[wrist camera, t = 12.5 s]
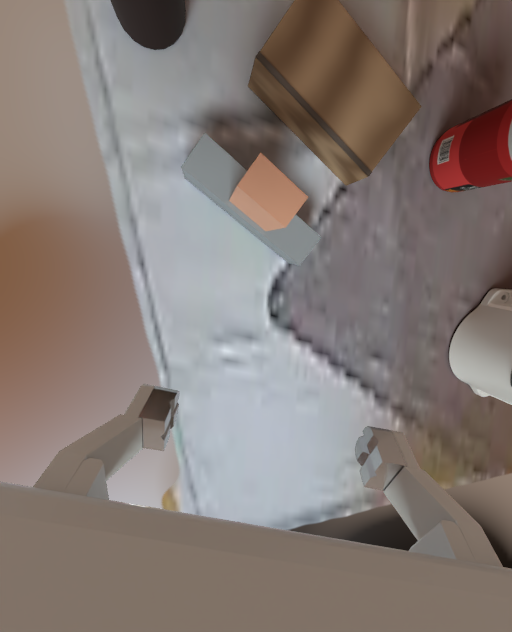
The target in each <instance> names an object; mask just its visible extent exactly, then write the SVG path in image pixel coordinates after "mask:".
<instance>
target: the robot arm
mask: <svg viewBox="0 0 512 632" xmlns="http://www.w3.org/2000/svg"><path fill="white" fill-rule="evenodd" d="M449 361H450V366H451V369H452V371H453V373H454V374H455V375H456V377H457V378H458V379H460V380H461V381H463V382H465V383H467V384H469V385H470V386H471V388H472V390H473V391H474V392H475V393H476V394H477V395H479V396H482V397H486V396H489V395H491V396H493V397H495V398H497V399H500V400H502V401H504V402H506V403H509V404H511V405H512V289H498V288H494V289H491V290H490V291H489V292H488V293H487V294H486V296H485V297H484V299H483V300H482V302H481V304H480V305H479V306H478V307H477V308H476V309H475V310H474V311H473V312H471V313H470V314H469V315H468V316H467V317H466V318H465V319H464V320H463V321H462V323H461V324H460V325H459V327H458V328H457V330H456V332H455V334H454V336H453V339H452V341H451V345H450V350H449ZM178 399H179V391H177V390H172V389H167V388H163V387H158V386H152V385H148V384H143V385H142V386H141V387H140V389H139V390H138V392H137V394H136V395H135V397H134V399H133V400H132V402H131V404H130V406H129V407H128V409H127V411H126V412H125V414H124V415H121V414H120V415H118V416H117V417H115V418H113V419H112V420H110V421H108V422H107V423H105V424H103V425H102V426H100V427H98V428H97V429H95V430H94V431H92V432H90V433H89V434H87V435H85V436H84V437H82V438H81V439H79V440H77V441H75V442H74V443H72V444H70V445H69V446H67V447H65V448H64V449H62V450H61V451H59V452H58V454H57V455H56V456H55V458H54V459H53V461H52V462H51V463H50V465H49V466H48V467H47V469H46V470H45V471H44V473H43V474H42V476H41V477H40V478H39V480H38V481H37V482H36V484H35V485H34V486H33V487H28V486H23V485H18V484H12V483H6V482H0V632H512V569H510V568H505V567H503V566H502V564H501V563H500V561H499V559H498V557H497V555H496V553H495V552H494V550H493V548H492V546H491V545H490V542H489V540H488V539H487V537H486V535H485V533H484V531H483V530H482V528H481V526H480V525H479V524H478V523H477V522H476V521H475V520H474V519H473V518H472V517H471V516H470V515H469V514H468V513H467V512H466V511H465V510H464V509H463V508H462V507H461V506H460V505H459V504H458V503H457V502H456V501H455V500H454V499H453V498H452V497H451V496H450V495H449V494H448V493H447V492H446V491H445V490H444V489H443V488H442V487H441V486H440V485H439V484H438V483H437V482H436V481H435V480H434V479H433V478H432V477H431V476H429V475H428V474H427V473H426V472H425V471H424V470H422V469H420V467H419V465H418V463H417V461H416V459H415V456H414V454H413V452H412V450H411V448H410V445H409V443H408V441H407V439H406V437H405V435H404V434H403V433H402V432H397V431H392V430H387V429H381V428H375V427H370V426H367V427H365V429H364V430H363V434H364V435H363V436H361V437H359V438H358V440H357V442H356V446H355V455H356V459H357V461H358V462H359V463H360V465H361V466H362V467H361V469H360V474H361V478H362V482H363V486H364V487H367V488H372V489H377V490H381V491H384V494H385V495H386V496H387V498H388V499H389V501H390V502H391V503H392V505H393V506H394V507H395V509H396V510H397V512H398V513H399V515H400V516H401V517H402V519H403V520H404V521H405V523H406V524H407V526H408V527H409V529H410V530H411V531H412V533H413V534H414V536H415V537H416V539H417V540H418V542H417V543H416V544H414V545H413V546H412V547H411V548H410V550H409V551H405V550H399V549H393V548H387V547H381V546H375V545H369V544H363V543H357V542H352V541H346V540H340V539H334V538H328V537H323V536H317V535H311V534H305V533H299V532H293V531H288V530H282V529H276V528H270V527H264V526H258V525H252V524H246V523H241V522H235V521H229V520H223V519H217V518H211V517H205V516H199V515H194V514H188V513H182V512H176V511H170V510H164V509H158V508H152V507H147V506H141V505H135V504H129V503H123V502H117V501H111V500H109V498H108V491H107V484H106V481H107V480H108V479H109V478H110V477H111V476H112V475H114V474H115V473H116V472H117V471H118V470H119V469H120V468H121V467H123V466H124V465H125V464H126V463H127V462H128V461H130V460H131V459H132V458H133V457H134V456H135V455H136V454H138V453H139V452H140V451H141V450H142V449H143V448H147V449H154V450H160V451H164V449H165V447H166V444H167V442H168V439H169V436H170V429H171V428H172V427H173V426H174V423H175V421H176V417H177V414H178V407H179V404H178V403H177V401H178Z"/></svg>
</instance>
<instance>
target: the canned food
mask: <svg viewBox="0 0 512 632" xmlns="http://www.w3.org/2000/svg"><path fill="white" fill-rule="evenodd" d="M429 167H430V174H431V177H432V179H433V181H434V183H435V184H436V185H437V186H438V187H439V188H440V189H442V190H444V191H449V192H460V191H465V190H470V189H475V188H481V187H486V186H491V185H496V184H501V183H506V182H511V181H512V99H511V100H509V101H507V102H505V103H503V104H501V105H499V106H497V107H495V108H492V109H490V110H488V111H486V112H484V113H482V114H480V115H478V116H476V117H473V118H471V119H469V120H467V121H465V122H463V123H461V124H459V125H457V126H454V127H453V128H451V129H449V130H448V131H446V132H445V133H444V134H443V135H442V136H441V137H440V138H439V139H438V140H437V142H436V143H435V145H434V147H433V149H432V152H431V156H430V163H429Z"/></svg>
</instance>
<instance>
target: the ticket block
mask: <svg viewBox="0 0 512 632" xmlns="http://www.w3.org/2000/svg"><path fill="white" fill-rule="evenodd" d="M248 87H249V88H250V89H251V90H252V91H253V92H254V93H255V94H256V95H257V96H258V97H259V98H260V99H261V100H262V101H263V102H264V103H265V104H266V105H267V106H268V107H269V108H270V109H271V110H272V111H273V112H274V113H275V114H276V115H277V116H278V117H279V118H280V119H281V120H282V121H283V122H284V123H285V124H286V125H287V126H288V127H289V128H290V129H291V131H292V132H293V133H294V134H295V135H296V136H297V137H298V138H299V139H300V140H301V141H302V142H303V143H304V144H305V145H306V146H307V147H308V148H309V149H310V150H311V151H312V152H313V153H314V154H315V155H316V156H317V157H318V158H319V159H320V160H321V161H322V162H323V163H324V164H325V165H326V166H327V167H328V168H329V169H330V170H331V171H332V172H333V173H334V174H335V175H336V176H337V177H338V178H339V179H340V180H341V181H342V182H343V183H344V184H345V185H349V184H351V183H354V182H356V181H359V180H361V179H364V178H366V177H368V176H369V175H370V174H371V173H372V170H373V169H374V168H375V167H376V165H377V164H378V163H379V161H380V160H381V159H382V157H383V156H384V155H385V153H386V152H387V151H388V150H389V148H390V147H391V146H392V144H393V143H394V142H395V140H396V139H397V138H398V137H399V135H400V134H401V133H402V131H403V130H404V129H405V127H406V126H407V125H408V123H409V122H410V121H411V120H412V118H413V117H414V116H415V114H416V113H417V112H418V110H419V109H420V108H421V105H420V104H419V103H418V102H417V100H416V99H415V98H414V96H413V95H412V94H411V93H410V91H409V90H408V89H407V87H406V86H405V85H404V84H403V82H402V81H401V80H400V79H399V77H398V76H397V75H396V73H395V72H394V71H393V70H392V68H391V67H390V66H389V64H388V63H387V62H386V61H385V59H384V58H383V57H382V55H381V54H380V53H379V52H378V50H377V49H376V48H375V47H374V45H373V44H372V43H371V41H370V40H369V39H368V38H367V36H366V35H365V34H364V32H363V31H362V30H361V29H360V27H359V26H358V25H357V23H356V22H355V21H354V20H353V18H352V17H351V16H350V15H349V13H348V12H347V11H346V9H345V8H344V7H343V6H342V4H341V3H340V2H339V0H295V1H294V2H293V4H292V5H291V7H290V8H289V9H288V11H287V12H286V14H285V15H284V17H283V18H282V20H281V21H280V23H279V24H278V26H277V27H276V29H275V30H274V31H273V33H272V34H271V36H270V37H269V39H268V40H267V42H266V43H265V45H264V46H263V48H262V49H261V51H259V53H258V54H257V56H256V58H255V62H254V65H253V69H252V73H251V77H250V80H249V84H248Z"/></svg>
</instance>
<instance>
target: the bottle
mask: <svg viewBox="0 0 512 632" xmlns="http://www.w3.org/2000/svg"><path fill="white" fill-rule="evenodd" d="M111 3H112V5H113V8H114V10H115V13H116V15H117V18H118V19H119V21H120V23H121V25H122V27H123V29H124V30H125V31H126V32H127V33H128V35H129V36H130V37H131V38H132V39H133V40H134V41H135V42H137V43H139V44H140V45H142V46H143V47H146V48H150V49H154V50H157V49H165V48H167V47H169V46H171V45H173V44H174V43H175V42H176V40H177V39H178V38H179V37H180V35H181V33H182V30H183V27H184V24H185V1H184V0H111Z"/></svg>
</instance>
